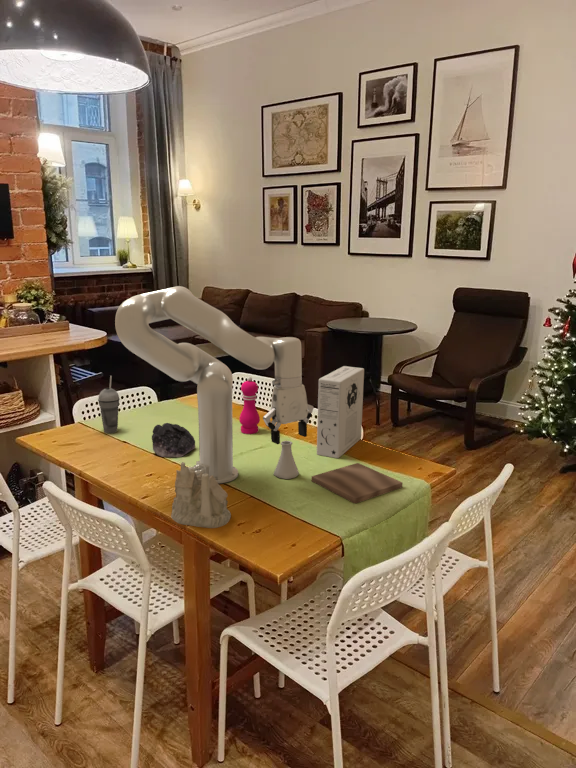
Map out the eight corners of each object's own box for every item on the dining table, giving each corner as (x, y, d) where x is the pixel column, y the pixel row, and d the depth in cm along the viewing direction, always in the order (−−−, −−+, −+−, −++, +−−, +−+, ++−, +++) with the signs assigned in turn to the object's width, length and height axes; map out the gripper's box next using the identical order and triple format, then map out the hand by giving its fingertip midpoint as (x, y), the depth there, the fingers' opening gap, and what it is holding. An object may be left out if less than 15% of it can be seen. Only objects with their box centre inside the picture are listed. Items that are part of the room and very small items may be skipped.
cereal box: (340, 435, 209) (343, 365, 203) (361, 438, 206) (364, 368, 200) (316, 454, 190) (318, 378, 184) (338, 458, 187) (341, 381, 181)
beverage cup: (102, 428, 213) (98, 373, 208) (123, 427, 214) (120, 373, 209) (98, 434, 206) (94, 378, 201) (119, 434, 207) (116, 378, 202)
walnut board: (355, 503, 156) (355, 498, 156) (311, 481, 170) (311, 476, 170) (402, 487, 167) (402, 482, 166) (357, 467, 180) (357, 462, 180)
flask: (288, 481, 169) (289, 448, 167) (268, 475, 174) (268, 443, 171) (303, 474, 175) (304, 441, 173) (283, 468, 179) (284, 436, 177)
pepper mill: (259, 434, 208) (259, 379, 204) (238, 434, 209) (238, 378, 204) (260, 428, 216) (260, 374, 211) (240, 427, 216) (240, 374, 211)
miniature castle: (217, 531, 140) (216, 470, 138) (158, 521, 146) (156, 462, 144) (246, 508, 154) (246, 452, 152) (192, 499, 161) (190, 445, 158)
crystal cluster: (203, 452, 193) (203, 422, 192) (171, 460, 183) (170, 429, 181) (176, 446, 201) (176, 417, 200) (143, 453, 191) (143, 423, 190)
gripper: (271, 389, 160) (272, 449, 164) (320, 379, 170) (320, 436, 174) (255, 384, 165) (257, 442, 170) (304, 374, 175) (304, 429, 180)
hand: (289, 439), depth 172 cm, fingers open, 9 cm apart
